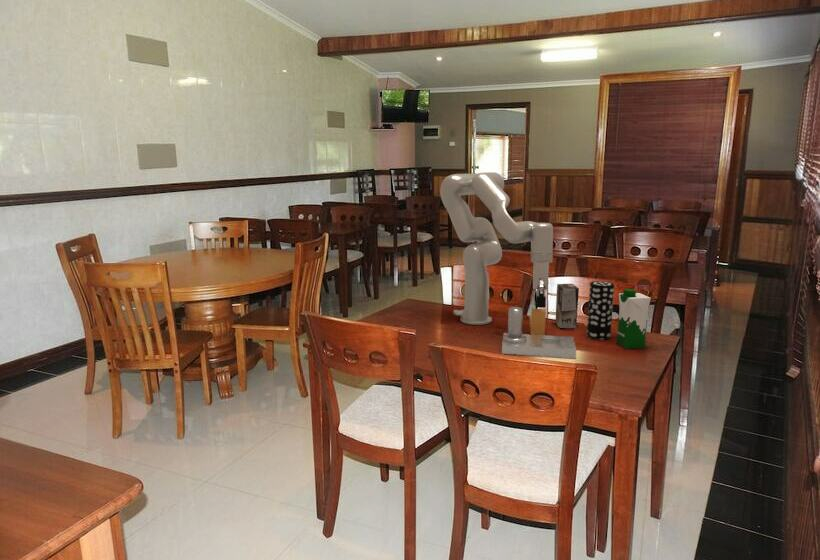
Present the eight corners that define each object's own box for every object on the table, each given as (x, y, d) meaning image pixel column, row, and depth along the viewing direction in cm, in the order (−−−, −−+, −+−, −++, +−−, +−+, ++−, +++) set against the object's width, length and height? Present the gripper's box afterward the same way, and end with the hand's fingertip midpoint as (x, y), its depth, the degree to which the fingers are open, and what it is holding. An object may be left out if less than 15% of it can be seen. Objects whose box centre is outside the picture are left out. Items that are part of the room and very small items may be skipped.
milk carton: (612, 342, 204) (616, 287, 200) (636, 340, 205) (640, 286, 201) (625, 349, 195) (629, 293, 191) (649, 348, 197) (654, 292, 193)
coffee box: (576, 329, 219) (579, 288, 216) (560, 329, 219) (562, 288, 216) (570, 322, 228) (573, 283, 225) (554, 322, 228) (556, 283, 225)
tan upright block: (530, 337, 209) (531, 311, 207) (530, 334, 213) (531, 308, 211) (544, 338, 208) (545, 311, 206) (544, 335, 212) (545, 309, 210)
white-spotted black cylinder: (584, 333, 214) (587, 281, 210) (606, 333, 214) (610, 281, 210) (590, 340, 206) (593, 286, 202) (613, 340, 206) (617, 286, 202)
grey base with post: (501, 353, 192) (503, 313, 189) (503, 340, 205) (504, 303, 202) (575, 358, 187) (578, 317, 184) (572, 345, 200) (575, 306, 198)
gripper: (530, 254, 213) (530, 298, 216) (530, 261, 197) (530, 309, 200) (551, 254, 212) (550, 299, 215) (553, 261, 195) (552, 310, 198)
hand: (540, 304), depth 207 cm, fingers open, 9 cm apart
